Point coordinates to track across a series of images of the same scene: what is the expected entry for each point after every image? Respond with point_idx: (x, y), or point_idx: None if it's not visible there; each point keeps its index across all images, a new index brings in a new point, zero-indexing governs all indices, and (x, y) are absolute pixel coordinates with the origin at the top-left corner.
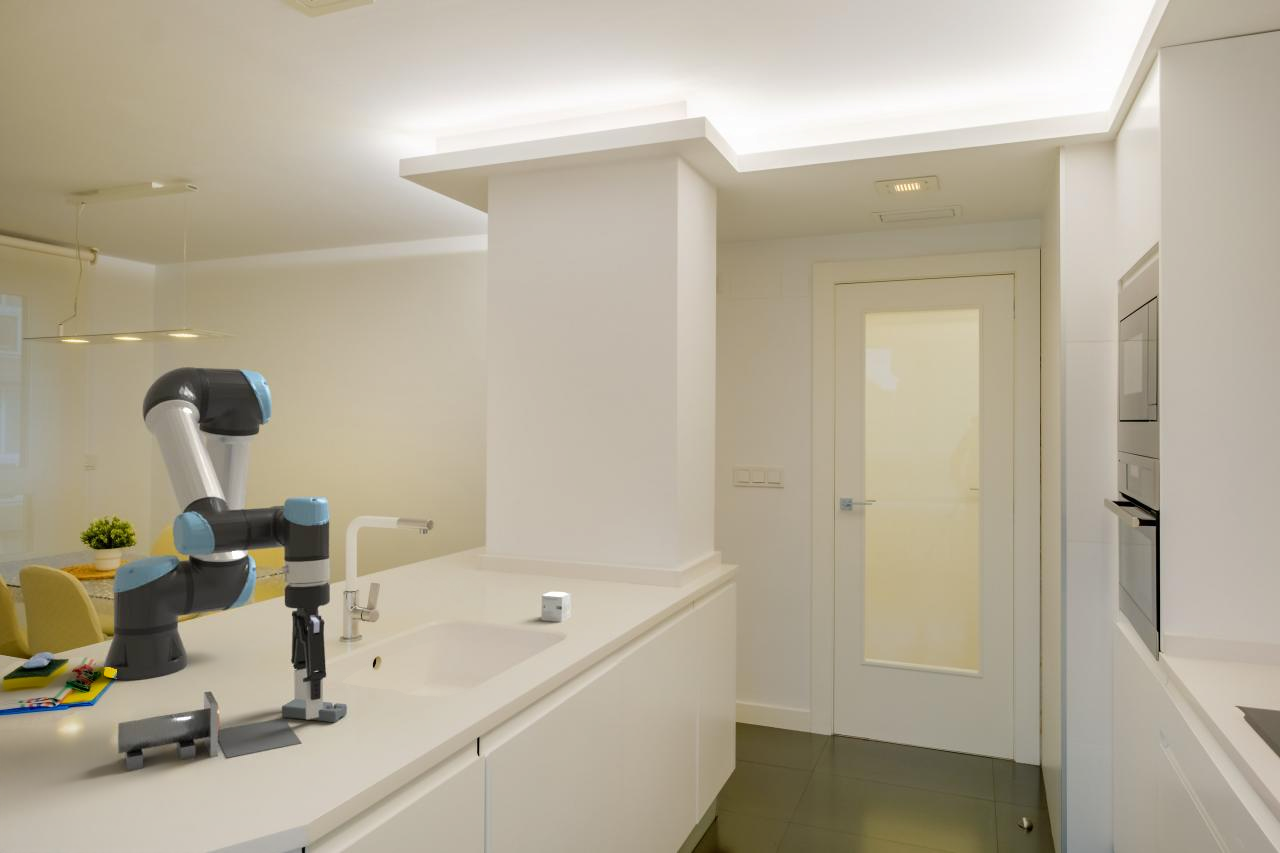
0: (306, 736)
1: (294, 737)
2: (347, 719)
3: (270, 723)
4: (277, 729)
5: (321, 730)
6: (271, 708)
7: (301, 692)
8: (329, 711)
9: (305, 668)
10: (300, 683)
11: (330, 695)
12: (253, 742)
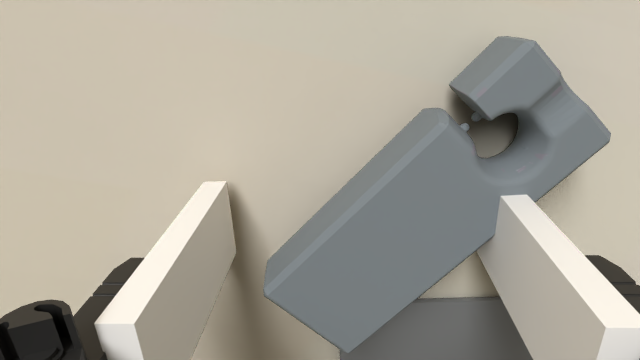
0: (635, 260)
1: None
2: (546, 39)
3: (383, 353)
4: (480, 343)
5: (611, 193)
6: None
7: (213, 269)
8: (579, 165)
9: (103, 356)
10: (193, 313)
11: (27, 30)
12: None
